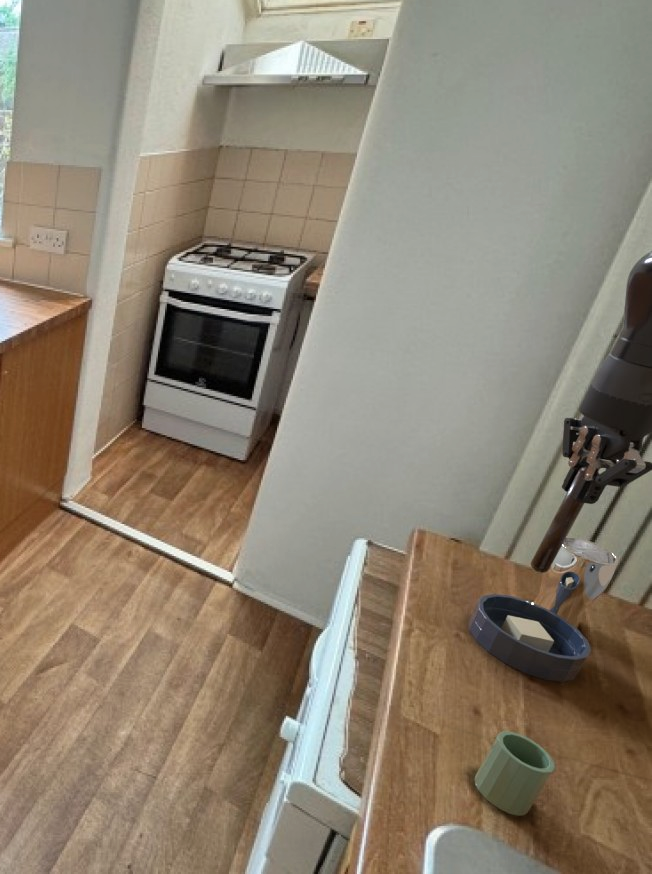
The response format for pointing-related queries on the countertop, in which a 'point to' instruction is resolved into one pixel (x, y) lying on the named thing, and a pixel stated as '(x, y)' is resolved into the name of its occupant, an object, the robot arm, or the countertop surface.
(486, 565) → the countertop surface
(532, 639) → the block
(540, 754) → the pot
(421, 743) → the countertop surface
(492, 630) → the bowl
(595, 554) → the beer glass
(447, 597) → the countertop surface
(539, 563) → the stir stick
